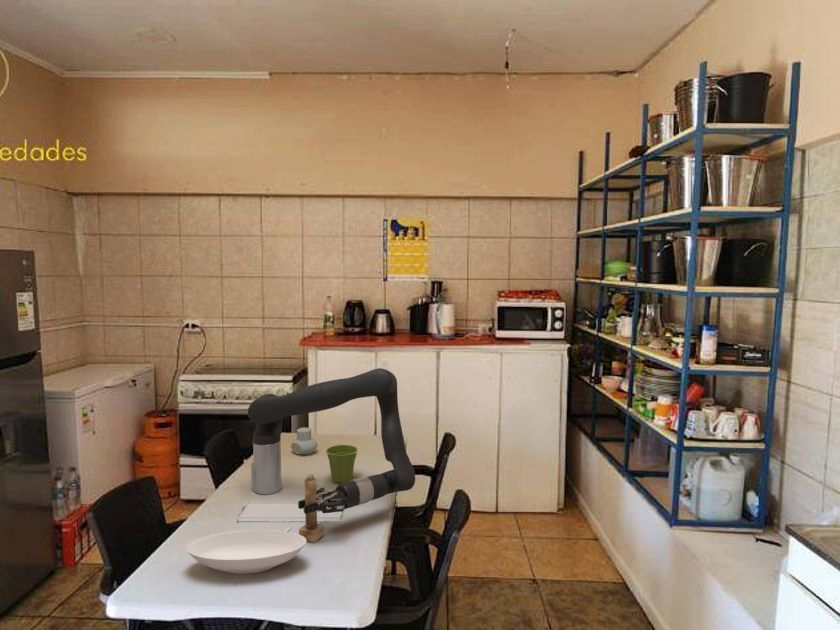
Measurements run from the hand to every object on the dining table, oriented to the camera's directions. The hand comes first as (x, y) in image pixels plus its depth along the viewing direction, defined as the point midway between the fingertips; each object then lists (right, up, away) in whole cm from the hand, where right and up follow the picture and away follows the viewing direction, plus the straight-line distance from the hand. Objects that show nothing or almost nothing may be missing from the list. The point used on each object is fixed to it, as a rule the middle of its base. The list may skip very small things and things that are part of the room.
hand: (301, 507), depth 150 cm
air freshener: (-15, -4, +74) cm, 76 cm away
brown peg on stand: (+2, -9, +2) cm, 10 cm away
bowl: (-11, -11, -12) cm, 20 cm away
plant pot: (+5, -6, +45) cm, 46 cm away
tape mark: (-6, -9, +6) cm, 13 cm away
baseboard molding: (-7, -9, +17) cm, 20 cm away
